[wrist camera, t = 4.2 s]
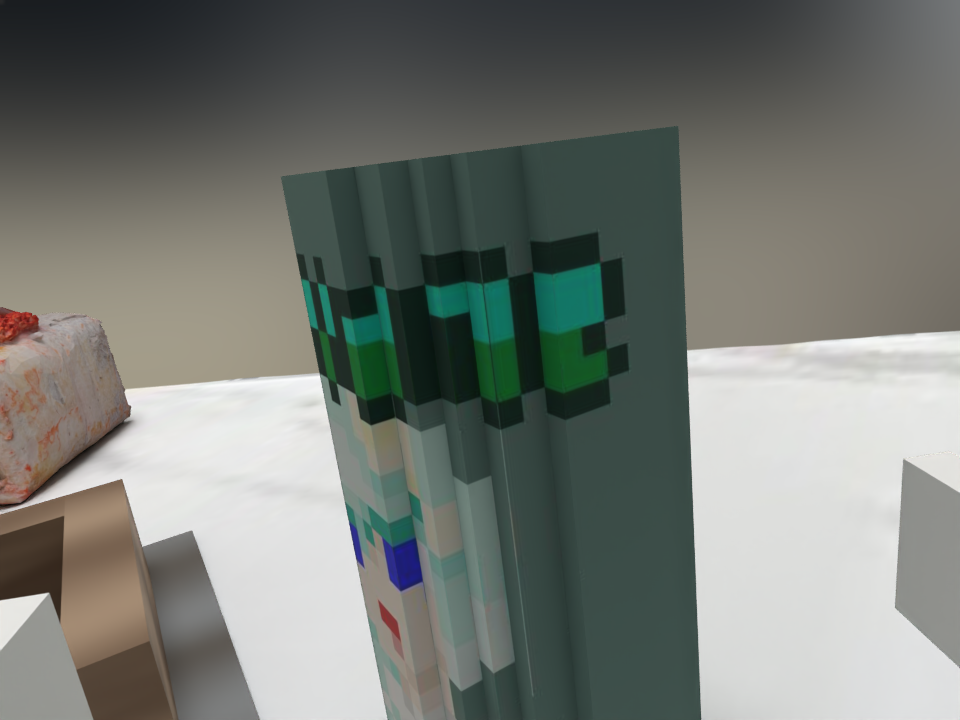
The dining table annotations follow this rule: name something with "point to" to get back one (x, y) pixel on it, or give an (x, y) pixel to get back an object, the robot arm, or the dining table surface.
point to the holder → (126, 609)
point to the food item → (52, 395)
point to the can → (512, 423)
